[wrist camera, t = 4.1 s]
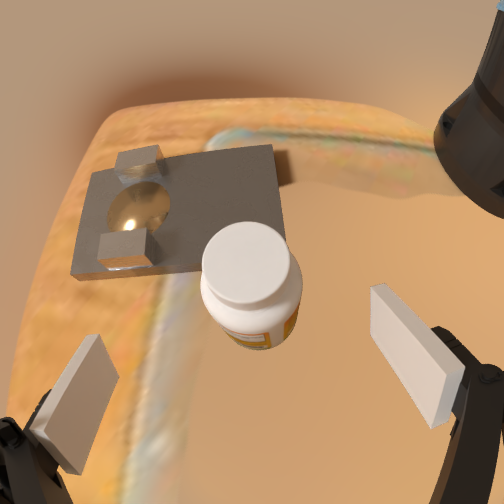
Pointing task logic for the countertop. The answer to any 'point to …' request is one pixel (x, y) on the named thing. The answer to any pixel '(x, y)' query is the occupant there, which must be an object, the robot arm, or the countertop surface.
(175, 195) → the hinge plate
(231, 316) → the supplement bottle
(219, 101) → the countertop surface
